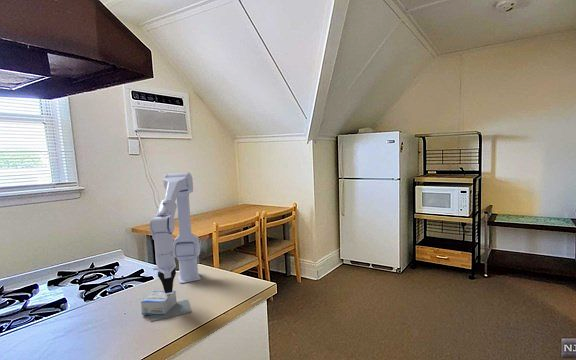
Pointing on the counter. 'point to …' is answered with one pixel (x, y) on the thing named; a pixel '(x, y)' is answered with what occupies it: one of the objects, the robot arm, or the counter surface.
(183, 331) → the counter surface
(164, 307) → the medicine box
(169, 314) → the slate mat
